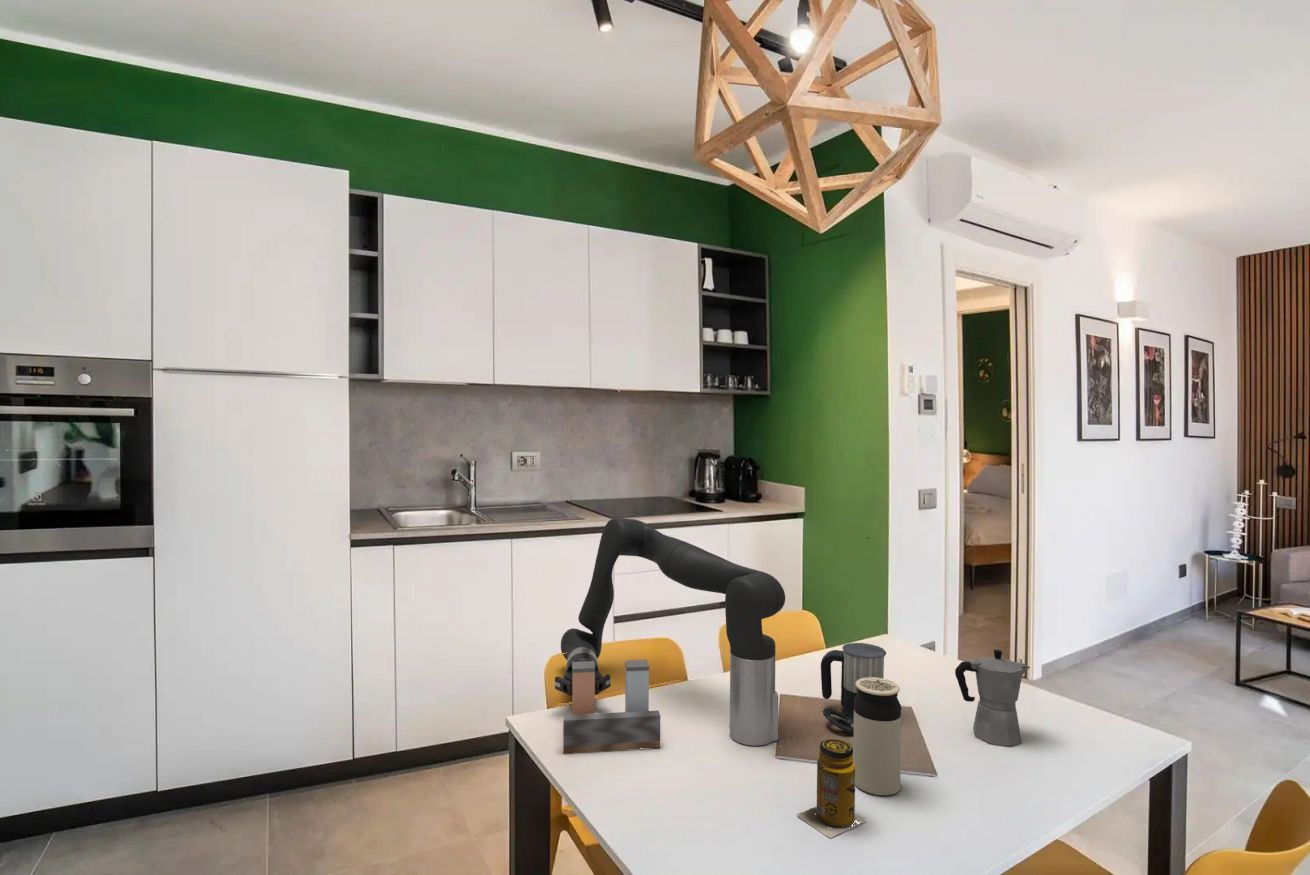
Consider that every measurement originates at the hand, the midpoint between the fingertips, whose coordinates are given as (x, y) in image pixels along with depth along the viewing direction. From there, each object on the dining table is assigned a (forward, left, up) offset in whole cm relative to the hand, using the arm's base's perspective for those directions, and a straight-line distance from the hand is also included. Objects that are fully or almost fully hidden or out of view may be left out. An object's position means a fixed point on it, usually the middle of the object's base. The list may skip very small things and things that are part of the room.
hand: (583, 697), depth 141 cm
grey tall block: (-11, +2, -5) cm, 12 cm away
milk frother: (-58, +2, -7) cm, 59 cm away
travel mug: (-51, +27, -7) cm, 59 cm away
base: (-5, +2, -7) cm, 9 cm away
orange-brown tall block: (0, +2, -5) cm, 6 cm away
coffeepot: (-83, +12, -7) cm, 85 cm away
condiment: (-39, +36, -7) cm, 54 cm away
